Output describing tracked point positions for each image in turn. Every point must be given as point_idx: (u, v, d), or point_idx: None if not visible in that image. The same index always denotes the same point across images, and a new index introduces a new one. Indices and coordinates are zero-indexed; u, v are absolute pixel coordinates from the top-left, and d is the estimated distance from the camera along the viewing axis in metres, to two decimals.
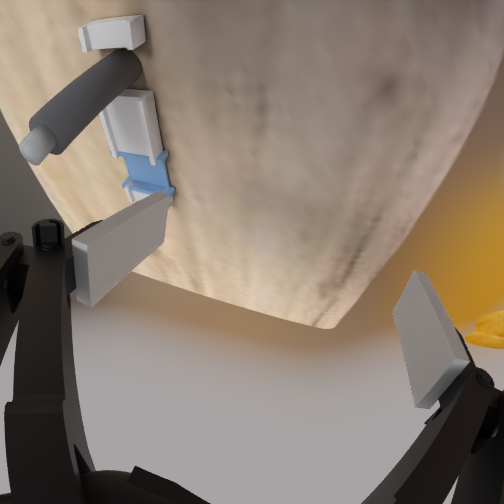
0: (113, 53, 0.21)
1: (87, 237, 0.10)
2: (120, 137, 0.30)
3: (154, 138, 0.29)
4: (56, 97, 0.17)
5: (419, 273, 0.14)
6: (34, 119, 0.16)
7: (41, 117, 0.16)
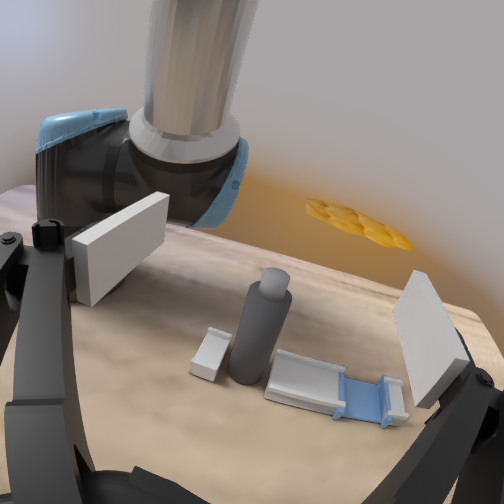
0: (229, 360, 0.32)
1: (87, 237, 0.10)
2: (319, 393, 0.30)
3: None
4: (244, 307, 0.29)
5: (419, 273, 0.14)
6: (252, 291, 0.27)
7: (252, 284, 0.28)
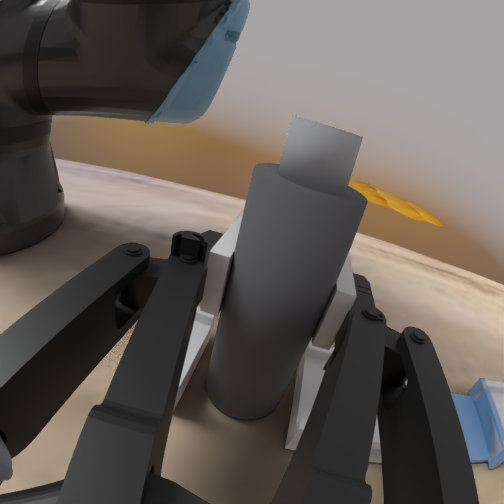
0: None
1: (224, 249, 0.11)
2: None
3: None
4: None
5: None
6: (263, 171, 0.10)
7: (262, 164, 0.11)
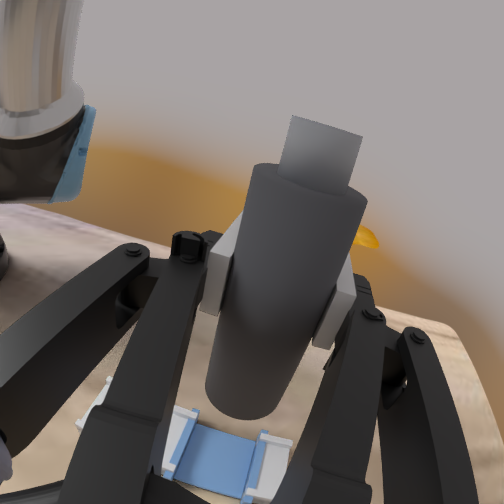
0: None
1: (224, 249, 0.11)
2: None
3: None
4: (240, 227, 0.11)
5: None
6: (263, 171, 0.10)
7: (262, 164, 0.11)
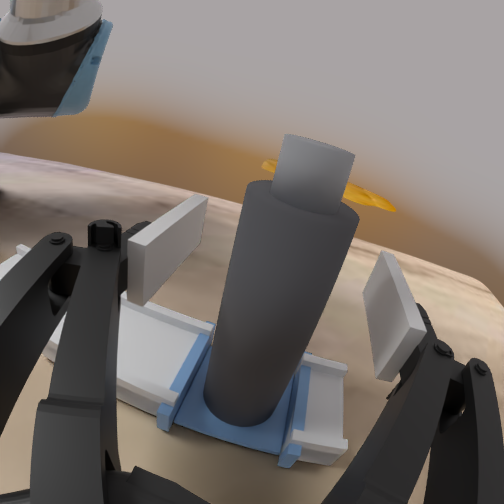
0: None
1: (143, 238, 0.10)
2: (134, 365, 0.14)
3: None
4: None
5: (386, 253, 0.15)
6: (255, 191, 0.10)
7: (255, 182, 0.11)
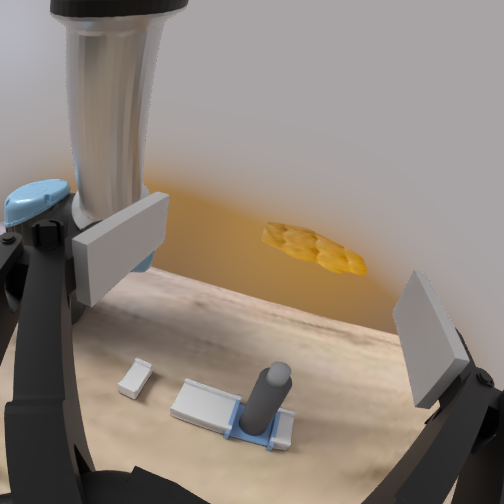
0: (240, 417, 0.38)
1: (87, 237, 0.10)
2: (213, 416, 0.37)
3: None
4: (254, 387, 0.34)
5: (419, 273, 0.14)
6: (261, 380, 0.33)
7: (261, 373, 0.34)
